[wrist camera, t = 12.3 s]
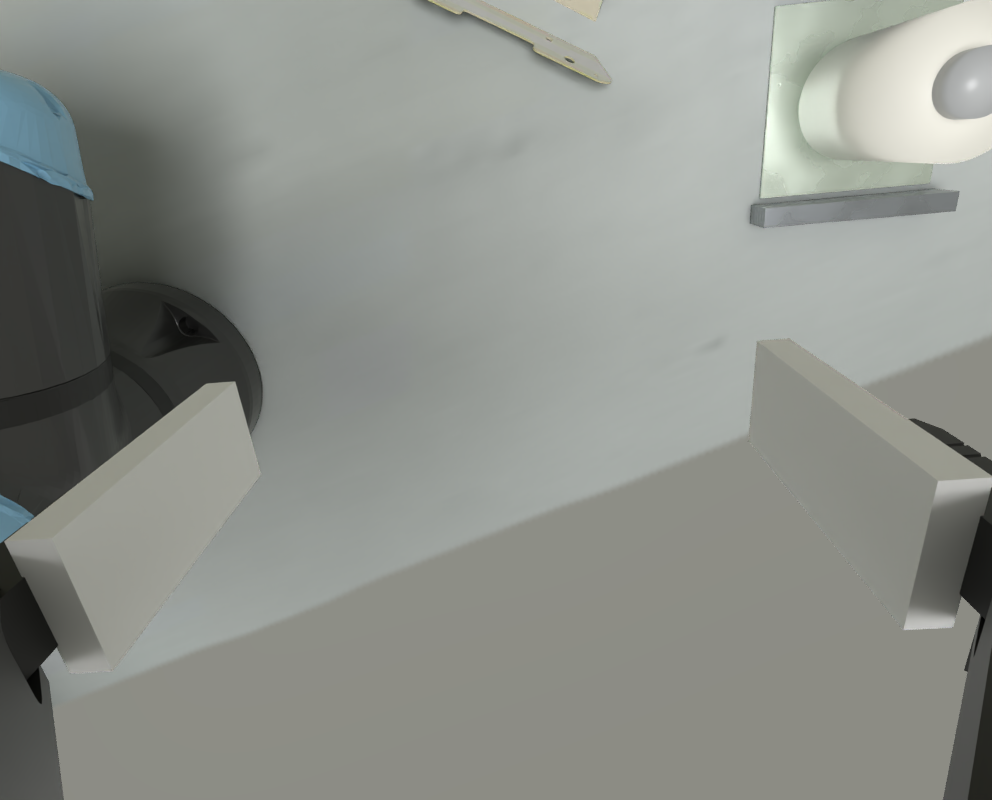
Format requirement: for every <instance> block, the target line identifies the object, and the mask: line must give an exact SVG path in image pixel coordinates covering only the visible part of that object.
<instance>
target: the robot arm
mask: <svg viewBox="0 0 992 800" xmlns="http://www.w3.org/2000/svg"><path fill="white" fill-rule="evenodd" d="M92 200H94V197H93V193H92V190H91V189H90V188H89V187H88V186H87V184H86V179H85V175H84V171H83V166H82V161H81V156H80V151H79V146H78V140H77V135H76V130H75V126H74V123H73V120H72V118H71V116H70V114H69V112H68V111H67V109H66V108H65V106H64V105H63V104H62V103H61V102H60V100H59V99H58V98H57V97H56V96H55V95H53V94H52V93H51V92H50V91H48V90H47V89H45V88H44V87H42V86H41V85H39V84H37V83H36V82H34V81H31V80H29V79H27V78H24V77H22V76H19V75H16V74H13V73H10V72H6V71H3V70H0V800H64V799H63V791H62V782H61V774H60V767H59V758H58V750H57V742H56V735H55V727H54V719H53V710H52V702H51V694H50V686H49V681H48V679H47V677H46V675H45V673H44V671H43V669H42V668H41V666H40V665H41V664H42V663H43V662H44V661H45V660H46V658H47V657H48V656H49V655H50V654H51V653H52V652H53V651H54V650H55V648H56V647H57V649H58V651H59V653H60V655H61V657H62V659H63V661H64V663H65V665H66V667H67V669H68V671H69V673H70V674H75V673H94V672H113V671H114V669H115V668H116V667H117V665H118V664H119V663H120V661H121V660H122V659H123V657H124V656H125V655H126V653H127V652H128V651H129V649H130V648H131V647H132V645H133V644H134V643H135V641H136V640H137V639H138V637H139V636H140V635H141V634H142V632H143V631H144V630H145V628H146V627H147V626H148V624H149V623H150V622H151V620H152V619H153V618H154V616H155V615H156V614H157V612H158V611H159V610H160V608H161V607H162V606H163V604H164V603H165V602H166V600H167V599H168V598H169V596H170V595H171V594H172V592H173V591H174V590H175V588H176V587H177V586H178V584H179V583H180V582H181V580H182V579H183V578H184V577H185V575H186V574H187V573H188V571H189V570H190V569H191V567H192V566H193V565H194V563H195V562H196V561H197V559H198V558H199V557H200V555H201V554H202V553H203V551H204V550H205V549H206V547H207V546H208V545H209V543H210V542H211V541H212V539H213V538H214V537H215V535H216V534H217V533H218V531H219V530H220V529H221V527H222V526H223V525H224V523H225V522H226V521H227V520H228V518H229V517H230V516H231V514H232V513H233V512H234V510H235V509H236V508H237V506H238V505H239V504H240V502H241V501H242V500H243V498H244V497H245V496H246V494H247V493H248V492H249V490H250V489H251V488H252V486H253V485H254V484H255V482H256V481H257V480H258V478H259V477H260V476H261V472H260V469H259V465H258V461H257V458H256V454H255V451H254V447H253V443H252V440H251V436H250V434H251V432H252V431H253V429H254V427H255V425H256V423H257V420H258V417H259V414H260V409H261V403H262V386H261V379H260V375H259V371H258V367H257V364H256V362H255V359H254V357H253V355H252V353H251V351H250V349H249V347H248V345H247V344H246V342H245V341H244V339H243V338H242V336H241V335H240V334H239V332H238V331H237V330H236V329H235V327H234V326H233V325H232V324H231V323H230V322H229V321H228V320H227V319H226V318H225V317H224V316H223V315H222V314H220V313H219V312H218V311H217V310H215V309H214V308H213V307H211V306H210V305H209V304H207V303H205V302H204V301H202V300H201V299H199V298H197V297H195V296H193V295H191V294H189V293H187V292H184V291H181V290H179V289H176V288H173V287H169V286H165V285H160V284H154V283H128V284H122V285H117V286H114V287H111V288H108V289H105V290H102V288H101V280H100V273H99V265H98V257H97V249H96V242H95V234H94V226H93V219H92V211H91V203H90V201H92ZM748 441H749V443H751V445H752V446H753V447H754V449H755V450H756V451H757V452H758V454H759V455H760V456H761V457H762V458H763V460H764V461H765V462H766V463H767V464H768V466H769V467H770V468H771V469H772V471H773V472H774V473H775V474H776V475H777V477H778V478H779V479H780V480H781V482H782V483H783V484H784V485H785V486H786V488H787V489H788V490H789V491H790V492H791V494H792V495H793V496H794V497H795V499H796V500H797V501H798V502H799V504H800V505H801V506H802V507H803V508H804V510H805V511H806V512H807V513H808V515H809V516H810V517H811V518H812V519H813V520H814V522H815V523H816V524H817V525H818V527H819V528H820V529H821V530H822V531H823V533H824V534H825V535H826V536H827V538H828V539H829V540H830V541H831V543H832V544H833V545H834V546H835V547H836V549H837V550H838V551H839V552H840V553H841V555H842V556H843V557H844V558H845V560H846V561H847V562H848V563H849V564H850V566H851V567H852V568H853V569H854V571H855V572H856V573H857V574H858V575H859V577H860V578H861V579H862V580H863V581H864V583H865V584H866V585H867V586H868V588H869V589H870V590H871V591H872V592H873V593H874V595H875V596H876V597H877V599H878V600H879V601H880V602H881V604H882V605H883V606H884V607H885V608H886V609H887V611H888V612H889V613H890V614H891V616H892V617H893V618H894V619H895V620H896V622H897V623H898V624H899V625H900V627H901V628H902V629H903V630H914V629H934V628H951V627H953V625H954V621H955V618H956V614H957V611H958V607H959V603H960V600H961V596H962V597H963V598H964V599H965V600H966V601H967V602H968V603H969V604H970V605H971V606H972V607H973V608H974V609H975V610H976V611H977V612H978V613H979V614H980V618H979V622H978V625H977V629H976V632H975V635H974V639H973V642H972V646H971V649H970V652H969V656H968V659H967V662H966V666H965V669H964V670H965V671H967V672H968V673H967V678H966V683H965V689H964V693H963V699H962V704H961V709H960V714H959V720H958V725H957V730H956V735H955V740H954V745H953V751H952V756H951V761H950V766H949V771H948V777H947V782H946V787H945V792H944V797H943V800H992V461H991V460H990V459H988V458H986V457H981V454H980V453H979V452H977V451H976V450H974V449H973V448H971V447H970V446H968V445H967V446H964V443H963V442H962V441H960V440H959V439H957V438H956V437H954V436H953V435H951V434H949V433H948V432H946V431H945V430H943V429H941V428H938V427H935V426H933V425H930V424H927V423H925V422H922V421H919V420H917V419H907V418H906V417H904V416H902V415H901V414H900V413H898V412H897V411H895V410H894V409H892V408H891V407H889V406H888V405H886V404H885V403H884V402H882V401H881V400H879V399H878V398H876V397H875V396H873V395H872V394H870V393H869V392H867V391H866V390H864V389H863V388H861V387H860V386H859V385H857V384H856V383H854V382H853V381H851V380H850V379H848V378H847V377H845V376H844V375H842V374H841V373H839V372H838V371H836V370H835V369H833V368H832V367H830V366H829V365H828V364H826V363H825V362H823V361H822V360H820V359H819V358H817V357H816V356H814V355H813V354H811V353H810V352H808V351H807V350H805V349H804V348H802V347H801V346H799V345H798V344H797V343H795V342H794V341H792V340H791V339H789V338H787V339H774V340H762V341H757V347H756V358H755V370H754V381H753V393H752V404H751V416H750V428H749V440H748Z"/></svg>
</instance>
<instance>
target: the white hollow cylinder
mask: <svg viewBox="0 0 992 800" xmlns="http://www.w3.org/2000/svg"><path fill="white" fill-rule="evenodd" d="M798 113H799V123H800V128H801V131H802V133H803V136H804V137H805V139H806V141H807V142H808V144H809V145H810V146H811V147H812V148H813V149H814V150H815V151H816V152H818V153H819V154H821V155H823V156H825V157H828V158H831V159H836V160H852V161H877V162H902V163H927V164H952V163H959V162H963V161H966V160H969V159H972V158H975V157H977V156H979V155H981V154H983V153H985V152H987V151H989V150H990V149H992V0H970V1H967V2H964V3H961V4H957V5H954V6H951V7H948V8H945V9H942V10H939V11H936V12H933V13H930V14H927V15H924V16H921V17H918V18H915V19H912V20H908V21H905V22H902V23H899V24H896V25H893V26H890V27H887V28H884V29H881V30H878V31H875V32H872V33H869V34H866V35H863V36H859V37H856V38H853V39H850V40H848V41H846V42H843V43H841V44H840V45H838V46H836V47H835V48H833V49H832V50H831V51H829V52H828V53H827V54H826V55H825V56H824V57H823V58H821V60H820V61H819V62H818V63H817V64H816V65H815V67H814V68H813V70H812V71H811V73H810V74H809V76H808V78H807V80H806V82H805V84H804V87H803V89H802V93H801V96H800V101H799V112H798Z"/></svg>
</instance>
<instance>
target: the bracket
mask: <svg viewBox="0 0 992 800" xmlns="http://www.w3.org/2000/svg"><path fill="white" fill-rule="evenodd" d="M428 1H430V2H432V3H434V4H436V5H438V6H440V7H443V8H445V9H447V10H449V11H451V12H453V13H455V14H459V15H460V14H462V12H464V11H465V12H468V13H470V14H472V15H474V16H476V17H478V18H480V19H482V20H484V21H486V22H488V23H490V24H492V25H495V26H497V27H499V28H501V29H503V30H505V31H507V32H509V33H511V34H513V35H515V36H517V37H519V38H521V39H523V40H526V41H528V42H530V43H532V44H533V45H534V46H533V50H534V51H535V52H536V53H538V54H540V55H542V56H544V57H546V58H549V59H551V60H553V61H555V62H557V63H559V64H561V65H563V66H565V67H567V68H569V69H571V70H574V71H576V72H578V73H580V74H582V75H584V76H586V77H588V78H590V79H592V80H594V81H596V82H599V83H604V84H610V83H611V81H612V79H611V77H610V76H609V74H608V73H607V72H606V70H605V69H604V67H603V66H602V65H601V63H600V62H599V60H598V59H597V58H596V57H595V56H594V55H593V54H591V53H588V52H586V51H584V50H582V49H580V48H578V47H576V46H574V45H572V44H570V43H568V42H566V41H564V40H562V39H560V38H558V37H555V36H553V35H551V34H549V33H547V32H545V31H543V30H541V29H539V28H537V27H535V26H533V25H531V24H529V23H527V22H525V21H523V20H520V19H518V18H516V17H514V16H512V15H510V14H508V13H506V12H504V11H502V10H500V9H498V8H496V7H494V6H492V5H490V4H487V3H485V2H483V1H481V0H428ZM554 1H556V2H558V3H560V4H562V5H564V6H566V7H568V8H570V9H572V10H574V11H575V12H577V13H579V14H581V15H583V16H585V17H587V18H589V19H591V20H593V21H596V18H597V16H598V13H599V10H600V7H601V4H602V1H603V0H554ZM547 39H549V40H551V41H549V40H547ZM565 58H569V59H571V60H572V61H573V62H574V63H570V62H568V61H566V60H565Z"/></svg>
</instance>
